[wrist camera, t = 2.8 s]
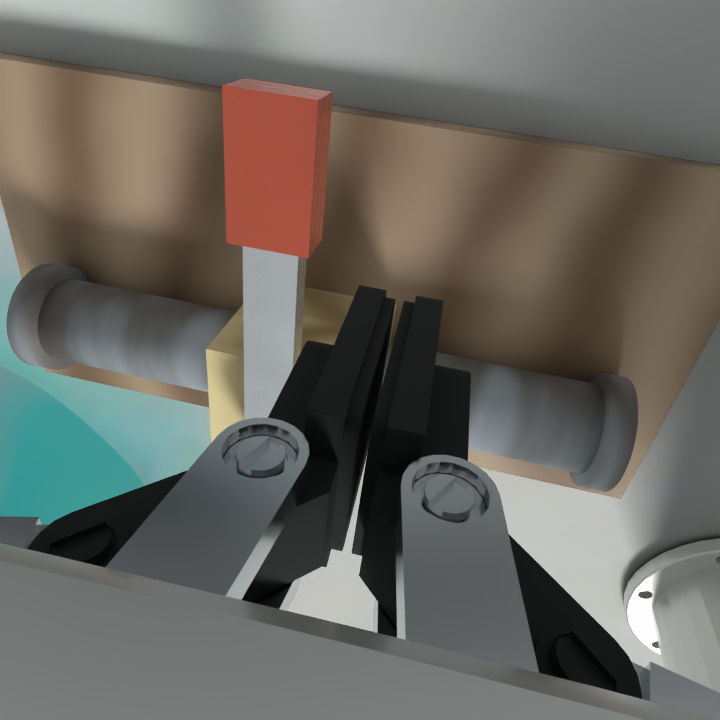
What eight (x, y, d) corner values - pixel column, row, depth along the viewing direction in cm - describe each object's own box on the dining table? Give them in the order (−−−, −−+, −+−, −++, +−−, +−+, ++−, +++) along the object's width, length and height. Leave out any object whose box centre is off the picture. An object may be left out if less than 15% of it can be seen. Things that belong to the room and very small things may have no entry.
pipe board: (777, 174, 23) (926, 264, 15) (616, 480, 33) (654, 629, 25) (-12, 50, 27) (-223, 70, 19) (61, 358, 37) (-57, 455, 29)
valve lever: (310, 482, 24) (299, 509, 23) (241, 466, 24) (226, 492, 23) (343, 93, 15) (329, 101, 14) (234, 76, 16) (211, 83, 14)
